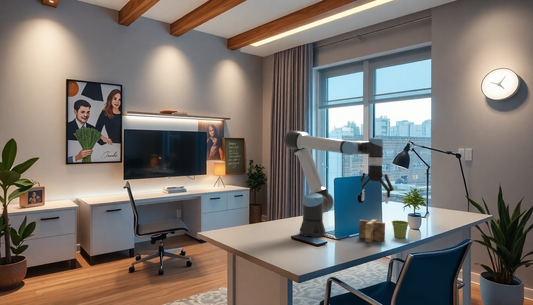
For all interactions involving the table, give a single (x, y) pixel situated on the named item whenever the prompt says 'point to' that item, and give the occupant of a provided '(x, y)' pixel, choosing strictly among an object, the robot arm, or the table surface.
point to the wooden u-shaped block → (377, 234)
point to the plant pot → (400, 228)
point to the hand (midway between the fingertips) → (374, 201)
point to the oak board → (370, 230)
